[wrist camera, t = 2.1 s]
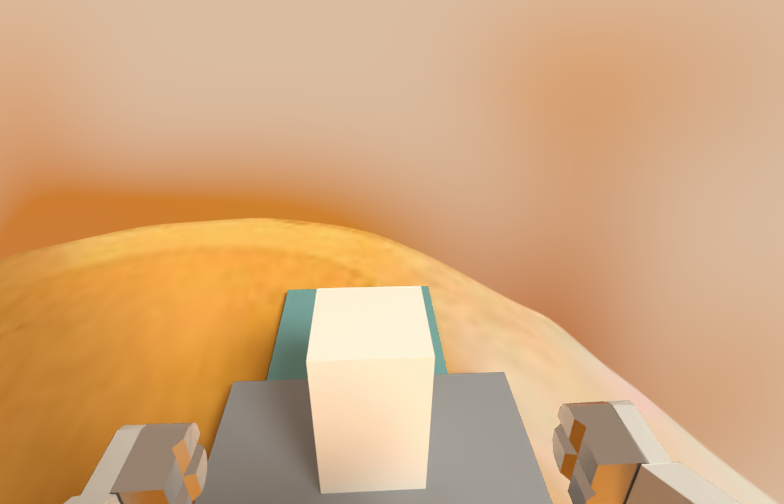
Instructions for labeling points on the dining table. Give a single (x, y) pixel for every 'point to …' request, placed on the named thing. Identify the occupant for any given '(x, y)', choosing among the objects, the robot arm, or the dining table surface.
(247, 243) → the dining table surface
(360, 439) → the cream block
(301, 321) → the mat
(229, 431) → the deck
